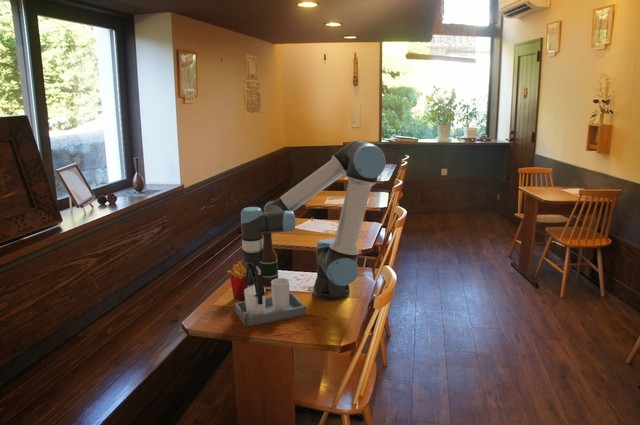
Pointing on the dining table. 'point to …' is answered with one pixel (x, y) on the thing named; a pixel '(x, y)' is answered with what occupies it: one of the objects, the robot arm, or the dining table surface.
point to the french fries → (238, 281)
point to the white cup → (252, 302)
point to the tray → (271, 312)
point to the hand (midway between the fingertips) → (256, 306)
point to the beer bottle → (269, 261)
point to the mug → (280, 294)
